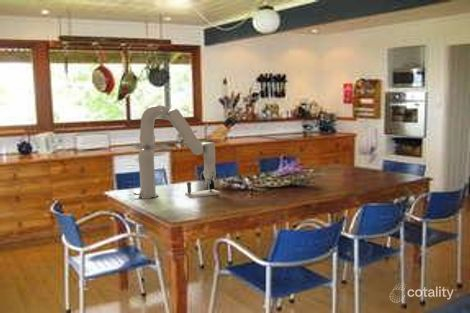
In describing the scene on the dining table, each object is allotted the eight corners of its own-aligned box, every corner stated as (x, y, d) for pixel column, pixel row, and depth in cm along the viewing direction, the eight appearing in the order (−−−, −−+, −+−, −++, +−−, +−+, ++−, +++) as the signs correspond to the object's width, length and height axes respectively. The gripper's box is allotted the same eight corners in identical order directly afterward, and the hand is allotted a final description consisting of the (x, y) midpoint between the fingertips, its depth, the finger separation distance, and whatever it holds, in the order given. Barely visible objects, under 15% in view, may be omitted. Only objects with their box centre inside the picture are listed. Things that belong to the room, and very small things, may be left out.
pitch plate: (190, 197, 315) (189, 183, 314) (184, 195, 324) (184, 180, 323) (219, 194, 324) (219, 179, 323) (213, 191, 333) (212, 177, 332)
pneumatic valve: (218, 186, 350) (217, 169, 348) (202, 188, 345) (201, 171, 343) (215, 185, 355) (214, 168, 353) (199, 187, 350) (198, 170, 349)
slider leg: (209, 191, 324) (209, 180, 324) (207, 190, 327) (207, 179, 326) (213, 190, 326) (213, 180, 325) (211, 190, 328) (211, 179, 328)
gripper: (199, 160, 330) (200, 187, 332) (209, 163, 315) (210, 191, 317) (209, 159, 333) (210, 186, 335) (220, 162, 318) (221, 190, 321)
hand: (210, 188), depth 326 cm, fingers closed on slider leg, 3 cm apart
